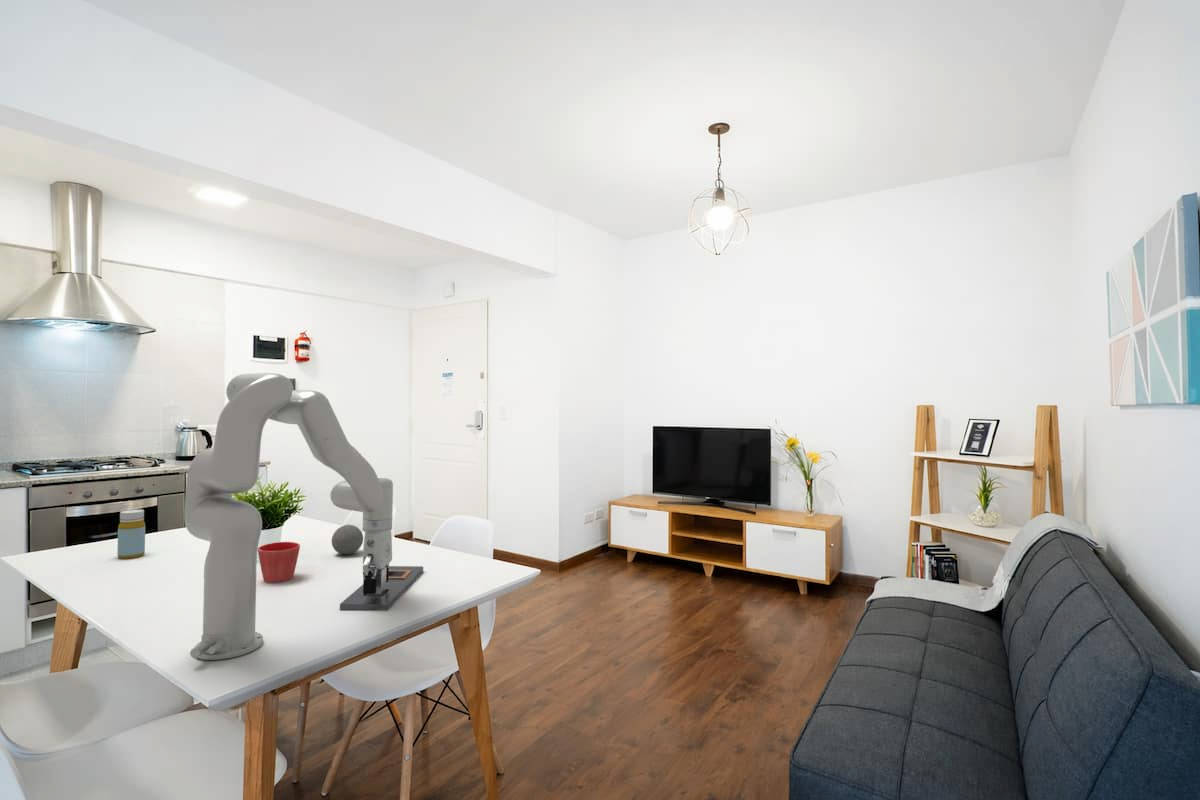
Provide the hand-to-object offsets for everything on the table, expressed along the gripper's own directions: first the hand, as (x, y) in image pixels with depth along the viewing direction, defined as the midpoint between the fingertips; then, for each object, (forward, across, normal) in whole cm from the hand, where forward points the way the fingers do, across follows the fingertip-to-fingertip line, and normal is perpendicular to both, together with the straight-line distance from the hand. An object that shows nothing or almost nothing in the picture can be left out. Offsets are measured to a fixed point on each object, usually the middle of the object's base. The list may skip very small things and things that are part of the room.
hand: (376, 587), depth 157 cm
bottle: (+3, +38, +93) cm, 101 cm away
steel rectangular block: (+3, 0, 0) cm, 3 cm away
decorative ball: (+3, +44, +25) cm, 51 cm away
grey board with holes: (+3, +8, 0) cm, 8 cm away
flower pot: (+3, +16, +34) cm, 38 cm away
